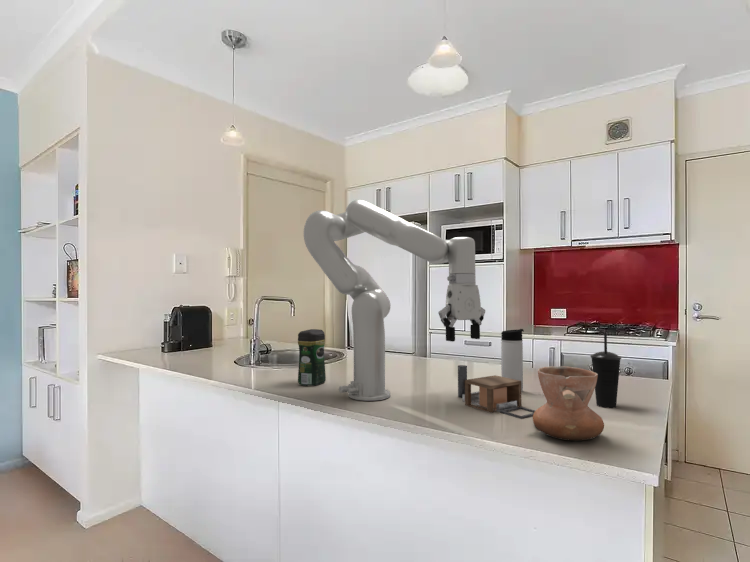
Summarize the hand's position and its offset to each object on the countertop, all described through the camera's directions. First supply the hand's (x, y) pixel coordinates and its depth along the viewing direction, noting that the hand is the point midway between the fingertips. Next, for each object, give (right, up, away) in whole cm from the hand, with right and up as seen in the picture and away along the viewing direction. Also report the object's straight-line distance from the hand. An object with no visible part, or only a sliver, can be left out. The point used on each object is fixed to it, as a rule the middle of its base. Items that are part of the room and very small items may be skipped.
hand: (463, 339), depth 129 cm
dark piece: (+11, -17, -17) cm, 27 cm away
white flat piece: (+4, -17, -7) cm, 19 cm away
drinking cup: (+39, -18, -5) cm, 43 cm away
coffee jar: (-47, -18, +24) cm, 56 cm away
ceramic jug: (+17, -17, -29) cm, 38 cm away
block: (+6, -16, -10) cm, 20 cm away
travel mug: (+17, -18, +8) cm, 26 cm away
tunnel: (+6, -18, -10) cm, 21 cm away
